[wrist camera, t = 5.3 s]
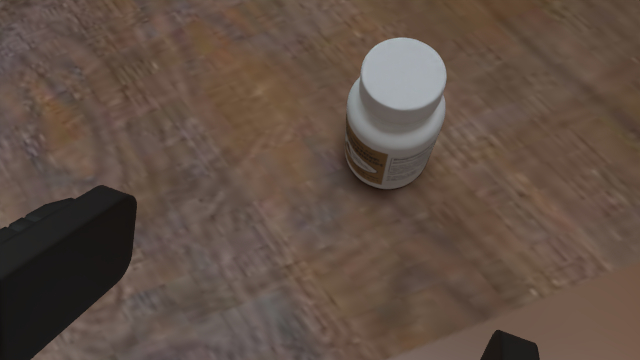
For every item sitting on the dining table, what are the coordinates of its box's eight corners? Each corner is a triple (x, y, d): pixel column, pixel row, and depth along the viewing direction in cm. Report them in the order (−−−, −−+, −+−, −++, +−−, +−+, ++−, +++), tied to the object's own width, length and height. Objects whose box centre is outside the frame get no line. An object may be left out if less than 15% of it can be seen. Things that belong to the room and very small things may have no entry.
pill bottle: (331, 133, 29) (331, 48, 22) (404, 105, 29) (428, 13, 22) (365, 203, 27) (376, 137, 20) (441, 172, 28) (479, 97, 21)
